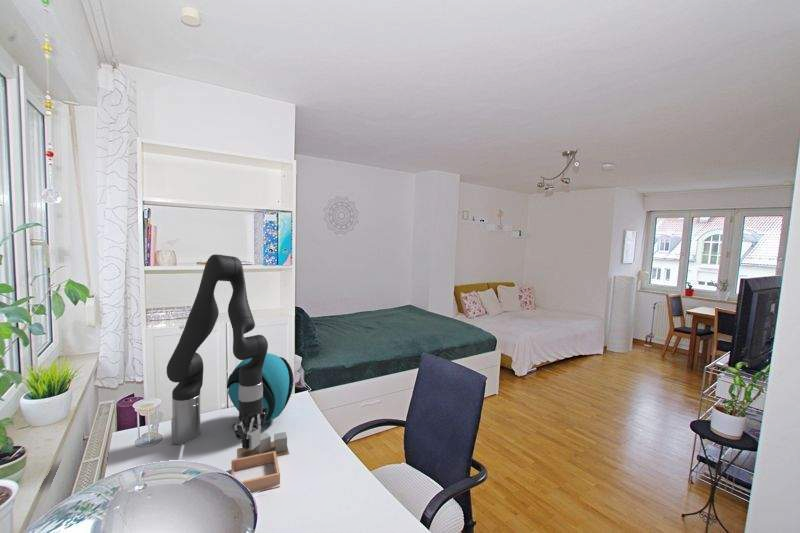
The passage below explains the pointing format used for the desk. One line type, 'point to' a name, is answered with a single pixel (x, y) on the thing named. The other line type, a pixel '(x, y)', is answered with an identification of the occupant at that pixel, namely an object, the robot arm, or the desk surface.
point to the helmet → (267, 385)
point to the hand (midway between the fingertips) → (251, 444)
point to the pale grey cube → (264, 443)
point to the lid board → (246, 452)
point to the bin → (253, 461)
